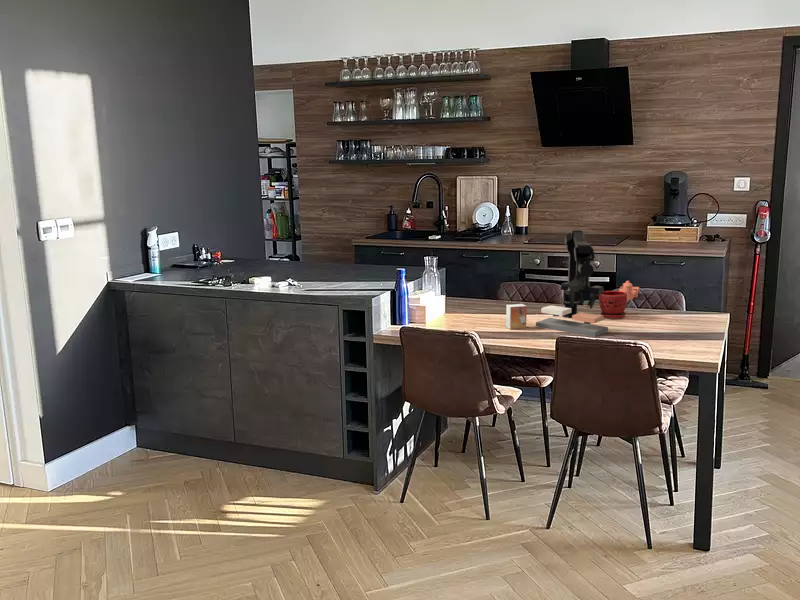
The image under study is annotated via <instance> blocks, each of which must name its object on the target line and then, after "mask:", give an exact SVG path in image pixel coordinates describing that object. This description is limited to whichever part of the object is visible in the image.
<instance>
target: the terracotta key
mask: <svg viewBox="0 0 800 600" xmlns="http://www.w3.org/2000/svg"><path fill="white" fill-rule="evenodd" d="M571 320H572V321H576V322H582V323H585V324H596V323H599V322H602V321H604V317H603V315H601V314H594V313H588V312H582V311H581V312H579V313H578V312H577V314H575V315H572V318H571Z"/></svg>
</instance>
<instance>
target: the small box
mask: <svg viewBox="0 0 800 600" xmlns="http://www.w3.org/2000/svg"><path fill="white" fill-rule="evenodd" d="M527 311H528V310H527V305H525V304H523V303H517V304H506V315H505V317H506V318H505V319H506V320H505V326H506V327H507V328H508V329H509V330H513V329H514V330H515V329H516V330H517V329H521V330H522V329H527V317H528V316H527V314H528V313H527ZM506 327H505V328H506Z"/></svg>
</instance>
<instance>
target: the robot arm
mask: <svg viewBox="0 0 800 600" xmlns="http://www.w3.org/2000/svg"><path fill="white" fill-rule="evenodd" d="M564 245H565V249H566V251H567V253H568V269H567V270H568V275H567V281H565V282H562V283H561V285H560V290H561V291H562V297H561V304H562V306H563V305H564V307H565V308H572V309H571V313H569V314H566V315H563V316H562V317H563V318H571V319H572V315H575V314H578V305H579V306H580V305H582V302H583V301H582V300H583V294H582V292H581V291H584V292H585V291H586V292H589V293H590V294H589V298H590V299H589V310H590V309H591V310H592V308H593V307H594V304H595V303H596V301H597V300H598V299H597V298H599V295H601V294H602V293H604V291H605V288H604V286H600V285H594V286H591V283H590V278H591V276H592V275H593V274H594V270H595V269H594V266H593V265H592V264H591V262H594V261H595V260H594V259H595V251H594V248H593V246H592V245H591V244H590V242H587V241H586V238H585V234H584V231H583V230H582V229H573V230H571V231H570V232H569V233H567V234H566V235H565V238H564Z"/></svg>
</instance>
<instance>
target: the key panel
mask: <svg viewBox="0 0 800 600" xmlns="http://www.w3.org/2000/svg"><path fill="white" fill-rule="evenodd" d="M535 327H537V328H542V329H547V330H554V331H559V332H566V333H570V332H572V334H576V333H577V335H582V334H583V335H584V336H588V337H589V336H590V337H594V336H595V337H598V336H600V335H603V334H605V333H608V332H609V326H604V325H597V324H593V323H591V324H585V323H584V322H581V321H574V320H572V321H571V320H565V319H559V318H556V317H555V318H553V317H548V318H545V319H541V320H539V321H535Z"/></svg>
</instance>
